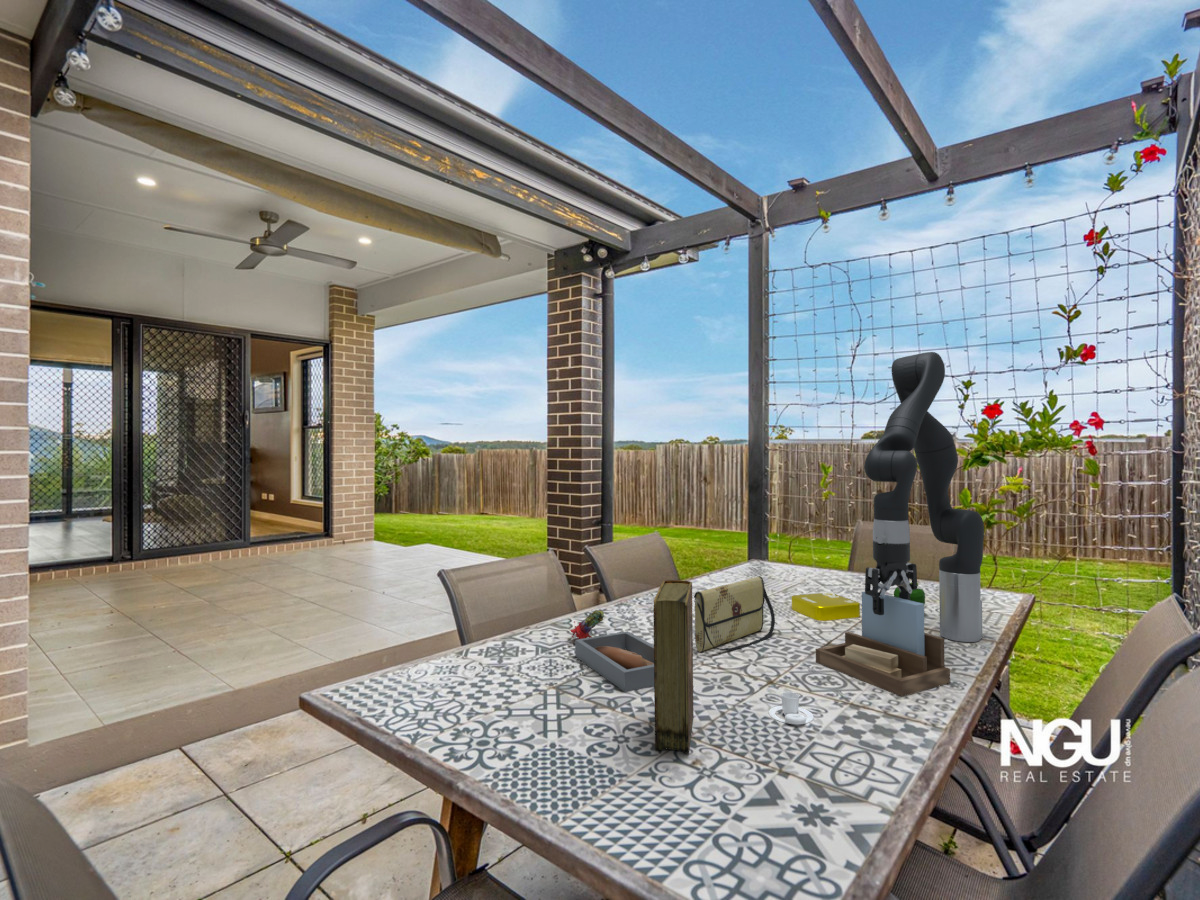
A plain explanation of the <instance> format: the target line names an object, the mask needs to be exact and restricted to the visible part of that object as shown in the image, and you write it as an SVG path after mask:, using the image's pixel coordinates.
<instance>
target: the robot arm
mask: <svg viewBox="0 0 1200 900" xmlns="http://www.w3.org/2000/svg"><path fill="white" fill-rule="evenodd" d="M945 376H946V367H945V363H944V360H943V358H942V356H941V355H940V354H939V353H937V352H934V351H927V352H921V353H918V354H917V353H916V354H911V355H907V356H902V357H899V358H896V359H894V360H893V362H892V364H891V377H892V382H893V386H894V388H895V391H896V394H897V396H898V399H899V402H900V404H899V405H898V406H896V408H895V409H894V410H893V411H892V413H891V414H890V416H889V418H888V420H887V422H886V425H885V429H884V430H883V434H882V436H881V437H880V438H879V439H878V440H877V442H875V444H874V445H873V447H872V448H871V449H870V450H869V452H868V453H867V455H866V457H865V461H864V466H863V467H864V472H865V474H866V476H867V477H868V479H869V480H871V481H873V482H880V483H882V482H883V483H896V484H895V487H894V489H893V490H890V491H884V492H880V493H877V494H875V495H874V497H873V525H872V558H873V560H874V561H876V566H875V568H874V567H866V568H865V572H864V573H865V574H864V577H865V578H864V581H865V582H864V591H865V594H867V595H870V596H872V598H873V612H874V614H877V615H884V599H883V597H884V594H885V595H886V592H888V591H889V590H890V588H891V587H894V586H896V588H897V587H898V589H899V591H901V592H899V598H902V599H906V600H910V594H911V593H912V590H916V589H918V586H917V583H918V573H917V564H916V563H911V562H910V561H911V529H910V523H909V500H910V496H911V491H912V486H913V483H914V480H915V478H916V474H917V470H918V468H919V470H920V471H919V472H920V475H921V476H920V477H921V479H922V484H923V487H924V492H925V497H926V498H925V499H926V505H927V509H928V519H929V523H930V527H931V532H932V533H933V536H934V537H935V539H936V540H937V541H938V542H941V543H943V544H944V543H946V544H952V545H956V546H957V547H956V552H955V554H953V555H949V556H944V557H941V558H940V559H939V562H938V565H939V567H938V570H939V571H938V572H939V574H938V578H939V581H938V582H939V583H938V584H939V586H938V588H939V593H938V595H939V635H940V636H941V638H944V639H947V640H950V641H956V642H962V643H976V642H980V641H981V640H982V639H981V638H983V601H982V599H981V568H982V567H981V565H982V564H983V563H982V562H983V557H984V536H985V525H984V520H983V517H982V515H981V514H980V513H979V512H978V511H976V510H971V509H963V508H961V509H960V508H953V507H952V505H951V501H950V498H949V488H950V486H951V485H950V484H951V481H952V480H953V478H954V475H955V473H956V470H957V467H958V464H959V457H958V452H957V449H956V448H957V447H956V444H955V441H954V437H953V434H951V432H950V431H949V430H948V429H947V428H946V426H944V425H943V424H942V423H941V421H939V420H938V419H937V418H936V417H934V416H933V415H932V414H931V413H930V412H929V411H928V410H929V409H930V407H931V405H932V404H933V402H934V400H935V398H936V397H937V395H938V393H939V391H940V389H941V387H942V385H943V383H944V380H945ZM912 450H914V454H915V455H914V454H913V453H912V452H911V451H912ZM910 580H911V582H912V584H911V582H910ZM871 586H872V587H871ZM871 588H872V589H871Z"/></svg>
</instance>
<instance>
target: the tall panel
mask: <svg viewBox="0 0 1200 900" xmlns="http://www.w3.org/2000/svg"><path fill="white" fill-rule="evenodd" d="M883 599H884V615H877V614H874V612H873V598H872V596H870V595H867V594H865V590H864V591H861V636H864V637H867V638H870V639H873V640H876V641H879V642H882V643H885V644H888V645H891V646H895V647H898V648H901V649H904V650H907V651H910V652H913V653H916V654H919V655H922V656H925V646H924V633H925V605H924V604H923V603H919V602H914V601H910V600H906V599H902V598H898V597H894V595H890V594H889V595H888V594H886V593H885V594H884V597H883Z"/></svg>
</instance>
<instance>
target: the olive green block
mask: <svg viewBox="0 0 1200 900" xmlns="http://www.w3.org/2000/svg"><path fill="white" fill-rule="evenodd" d="M693 618H694V617H693V581H689V580H680V579H678V580H677V579H674V580H673V579H671V580H670V579H669V580H663V581H662V582H661V584H660V585H659V588H658V591H657V592H656V595H655V597H654V599H653V645H654V686H653V687H654V688H653V689H654V690H653V691H654V695H653V696H654V700H653V701H654V702H653V703H654V708H653V709H654V750H655V751H656V752H658V751H663V750H673V751H680V752H682V753H685V754H690V749H691V741H692V734H693V731H692V730H693V723H694V644H693V643H694V638H693V637H694V636H693V635H694V633H693V630H694V629H693Z"/></svg>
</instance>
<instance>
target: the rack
mask: <svg viewBox="0 0 1200 900" xmlns="http://www.w3.org/2000/svg"><path fill="white" fill-rule="evenodd" d="M853 644H854V645H858V646H862V647H866V648H870V649H874V650H878V651H883V652H887V653H891V654H895V655H898V667H897V668H899V669H901V678H898V677H895V676H893V675H890V674H887V673H885V672H882V671H879V670H877V669H874V668H871V667H869V666H866V665H863V664H860V663H858V662H855V661H852V660H850V659H847V658H844V657H842V656H844V655H845V648H846V647H848V646H850V645H853ZM924 646H925V656H922V655H919V654H916V653H913V652H910V651H907V650H904V649H901V648H898V647H895V646H891V645H888V644H885V643H882V642H879V641H876V640H873V639H870V638H867V637H864V636H862V635H860V634H857V633H854V632H852V631H851V632H850V631H845V632H844V642H842V643H838V644H834V645H828V646H824V647H819V648H815V663H817V664H819V665H823V666H825V667H827V668H829V669H832V670H835V671H838V672H840V673H842V674H844V675H847V676H850V677H852V678H855V679H857V680H860V681H863V682H865V683H867V684H870V685H872V686H874V687H877V688H880V689H883V690H885V691H888V692H890V693H893V694H895V695H897V696H899V697H905V696H909V695H912V694H915V693H919V692H922V691H926V690H930V689H933V688H937V687H940V686H939V685H941V686H944V685H947V683H948V684H950V683H951V668H950V667H946V666H945V638H944V637H942V636H941V637H940V636H936V635H935V634H934V635H933V634H929V633H926V632H924ZM943 684H944V685H943ZM936 686H937V687H936Z"/></svg>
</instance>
